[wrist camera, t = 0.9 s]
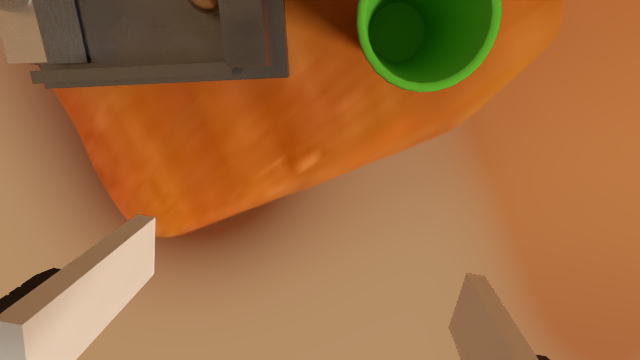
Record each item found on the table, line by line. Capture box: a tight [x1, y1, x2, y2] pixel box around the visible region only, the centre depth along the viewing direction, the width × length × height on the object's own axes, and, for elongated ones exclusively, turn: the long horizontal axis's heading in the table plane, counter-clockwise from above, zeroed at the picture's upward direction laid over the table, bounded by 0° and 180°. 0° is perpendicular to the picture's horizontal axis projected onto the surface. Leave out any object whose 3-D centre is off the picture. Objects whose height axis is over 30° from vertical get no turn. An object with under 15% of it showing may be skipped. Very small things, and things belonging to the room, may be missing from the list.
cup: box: [356, 0, 502, 92], centre depth 28 cm, size 9×9×11 cm
